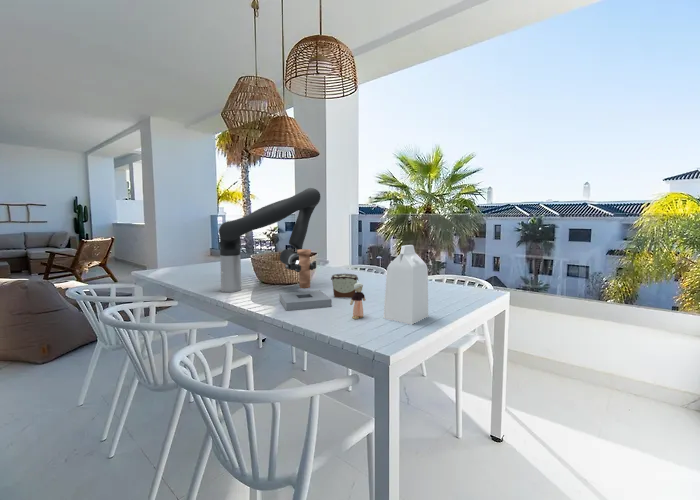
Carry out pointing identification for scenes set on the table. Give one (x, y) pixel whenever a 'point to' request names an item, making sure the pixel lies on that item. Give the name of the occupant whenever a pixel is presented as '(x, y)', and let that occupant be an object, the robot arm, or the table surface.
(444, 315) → the table surface
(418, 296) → the milk
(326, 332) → the table surface
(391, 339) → the table surface
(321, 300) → the socket block
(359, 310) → the grandmother figurine
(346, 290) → the food container
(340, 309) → the table surface
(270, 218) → the robot arm
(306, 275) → the headed peg
